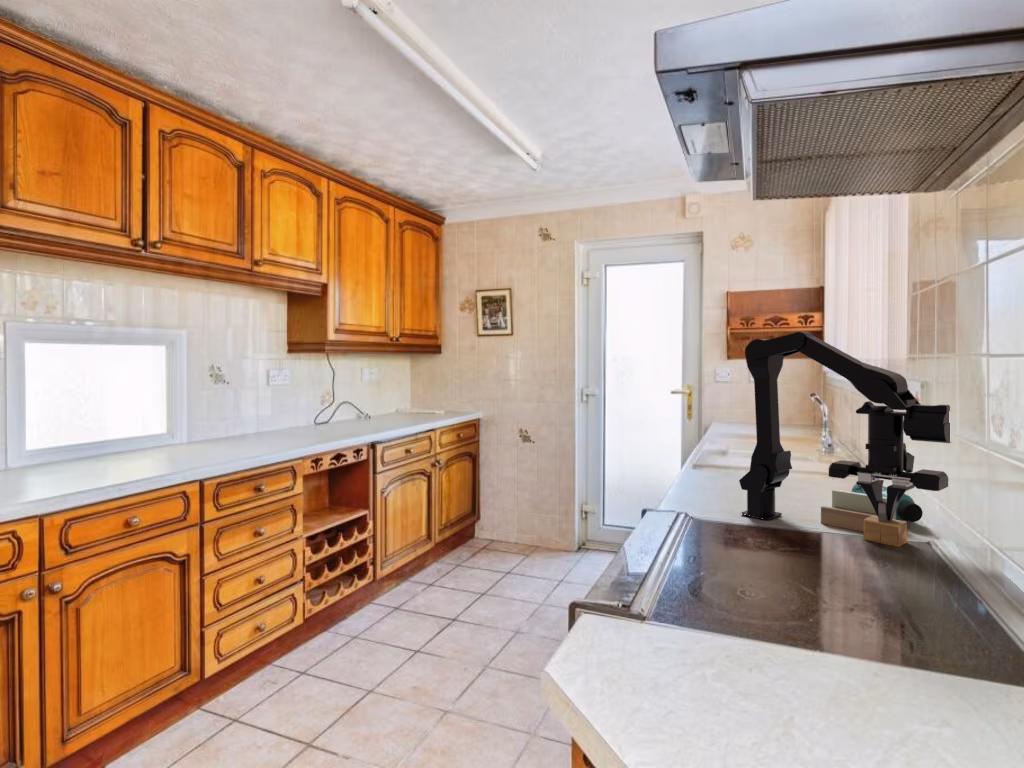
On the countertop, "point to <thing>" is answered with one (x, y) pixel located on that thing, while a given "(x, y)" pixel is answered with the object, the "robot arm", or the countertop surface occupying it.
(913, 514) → the beverage bottle
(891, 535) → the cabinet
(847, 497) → the wooden stand with panel
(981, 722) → the countertop surface
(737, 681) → the countertop surface
